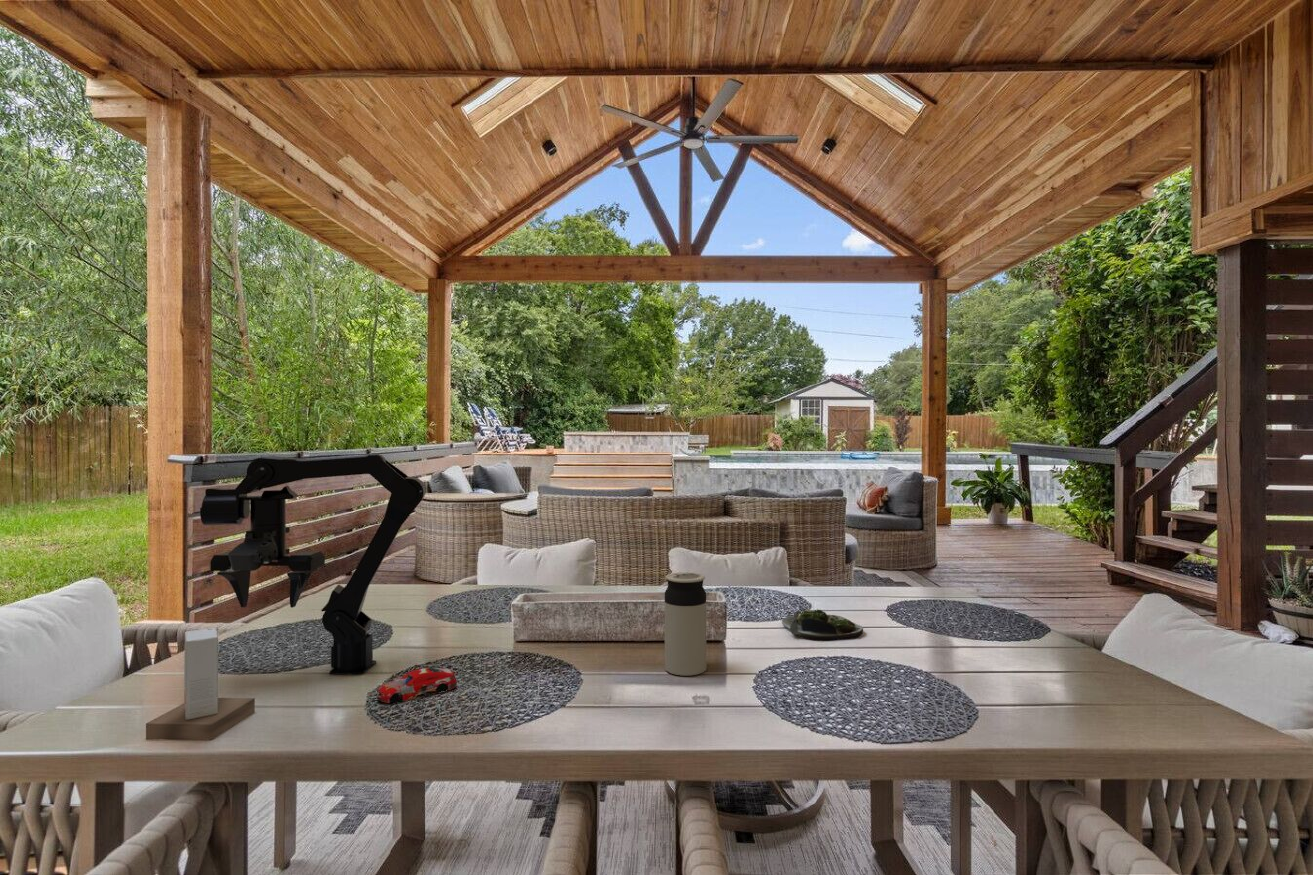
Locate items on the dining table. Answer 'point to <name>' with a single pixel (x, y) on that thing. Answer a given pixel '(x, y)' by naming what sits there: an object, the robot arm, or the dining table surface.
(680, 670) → the travel mug
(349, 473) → the robot arm
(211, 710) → the skincare box
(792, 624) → the salad plate
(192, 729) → the walnut block
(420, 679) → the race car
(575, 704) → the dining table surface
